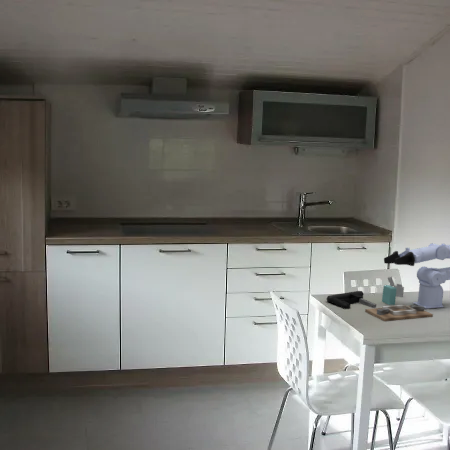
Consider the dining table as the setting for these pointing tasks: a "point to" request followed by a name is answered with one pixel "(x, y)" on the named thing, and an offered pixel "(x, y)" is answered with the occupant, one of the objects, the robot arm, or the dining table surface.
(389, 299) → the block
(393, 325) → the dining table surface
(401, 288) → the lighter
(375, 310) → the board
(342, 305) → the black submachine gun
